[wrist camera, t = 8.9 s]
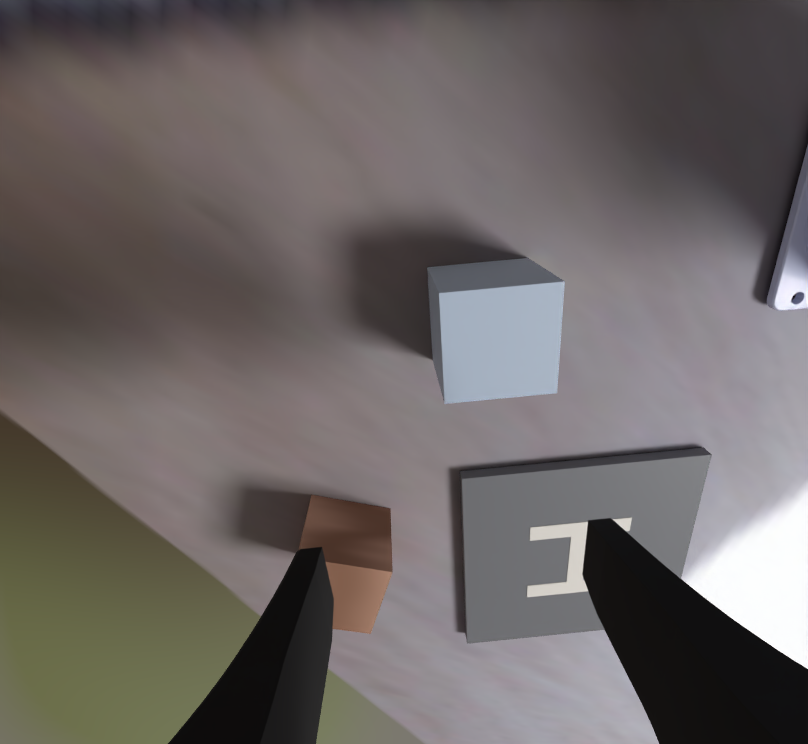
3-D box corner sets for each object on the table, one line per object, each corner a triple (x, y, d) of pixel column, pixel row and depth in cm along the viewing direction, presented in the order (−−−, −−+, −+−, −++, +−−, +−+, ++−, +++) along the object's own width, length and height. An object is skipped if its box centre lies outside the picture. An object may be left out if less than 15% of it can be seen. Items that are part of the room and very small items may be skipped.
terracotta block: (390, 507, 23) (392, 572, 19) (371, 564, 24) (370, 633, 21) (311, 493, 22) (298, 557, 19) (298, 552, 24) (283, 621, 20)
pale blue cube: (527, 257, 18) (564, 281, 14) (524, 350, 20) (557, 392, 16) (426, 266, 18) (439, 293, 14) (432, 359, 20) (444, 404, 16)
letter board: (703, 447, 22) (712, 455, 22) (664, 613, 27) (670, 623, 27) (459, 471, 22) (462, 479, 21) (465, 633, 27) (467, 644, 27)
